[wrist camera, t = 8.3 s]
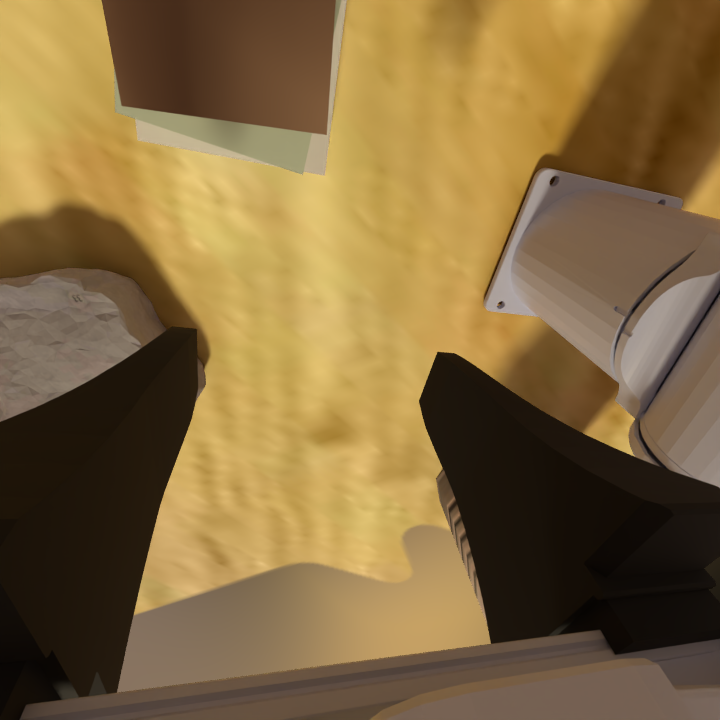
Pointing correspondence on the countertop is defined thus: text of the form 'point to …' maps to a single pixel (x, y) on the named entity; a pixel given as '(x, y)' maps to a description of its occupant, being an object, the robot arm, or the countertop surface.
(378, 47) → the countertop surface
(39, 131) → the countertop surface
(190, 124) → the sage top block
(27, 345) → the stone block
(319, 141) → the grey base block
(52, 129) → the countertop surface
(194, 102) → the walnut block
